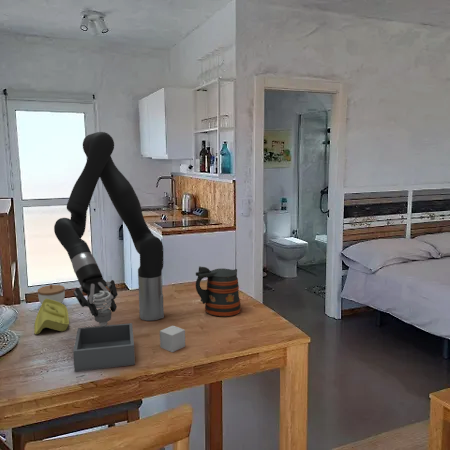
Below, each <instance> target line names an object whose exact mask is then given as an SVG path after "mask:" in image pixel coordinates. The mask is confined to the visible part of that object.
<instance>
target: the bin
mask: <svg viewBox="0 0 450 450" xmlns="http://www.w3.org/2000/svg"><path fill="white" fill-rule="evenodd" d="M133 331H134V330H133V322H130V323H119V324H107V325H106V326H105V327H102V326H100V325H97V326H86V327H78V328H77V330H76V336H75V341H74V345H73V351H72V354H73V355H72V356H73V369H74V370H73V372H82V371H90V370H98V369H99V370H101V369H109V368H116V367H117V368H118V367H125V366H134V365H136V361H135V360H136V359H135V341H134V338H135V337H134V332H133Z"/></svg>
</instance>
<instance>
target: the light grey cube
mask: <svg viewBox="0 0 450 450" xmlns="http://www.w3.org/2000/svg"><path fill="white" fill-rule="evenodd" d="M185 347H186V330H185V329H184V328H181V327H178V326H175V325H170V326H168V327H166V328H163V329H161V330H159V348H161V349H164V350H165V351H168V352H171V353H174V352H176V351H178V350H180V349H183V348H185Z"/></svg>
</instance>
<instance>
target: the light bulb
mask: <svg viewBox="0 0 450 450" xmlns="http://www.w3.org/2000/svg"><path fill="white" fill-rule="evenodd" d="M105 293H107V294H105ZM103 296H107V297H103ZM111 302H112V301H111V293H110V291H109V292H108V291H100V293H99V294H94V298H93V304H95V306H96V308H97V311H98V316H96V317H94V321H95V322H96V323H99V325H98V326H102V327H105V326H106V325H108V322H110V321H112V314H113V312H112V311H111V309H110V307H111Z"/></svg>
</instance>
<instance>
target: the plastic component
mask: <svg viewBox="0 0 450 450" xmlns="http://www.w3.org/2000/svg"><path fill="white" fill-rule="evenodd" d="M69 318H70V317H69V310H68V308H67V306H66V305H65V304H64V303H63V302H62V303H60V302H57V301H54V300H51V299H45V300H44V301H43V303H42V304H41V305H40V307H39V310H38V312H37V314H36V317H35V320H34V326H33V327H34V330H33V331H34V335H40V333H41V332H42V331H43V329H45V328H47V329H51V330H55V331H59V332H65V331H67V329H68V327H69V325H70V319H69Z"/></svg>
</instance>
